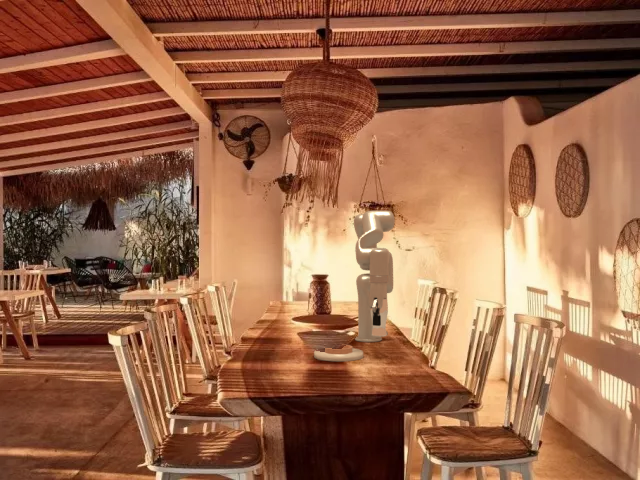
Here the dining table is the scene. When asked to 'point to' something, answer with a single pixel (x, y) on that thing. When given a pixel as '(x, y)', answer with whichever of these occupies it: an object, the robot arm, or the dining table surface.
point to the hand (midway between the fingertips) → (379, 323)
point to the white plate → (339, 354)
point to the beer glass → (381, 329)
